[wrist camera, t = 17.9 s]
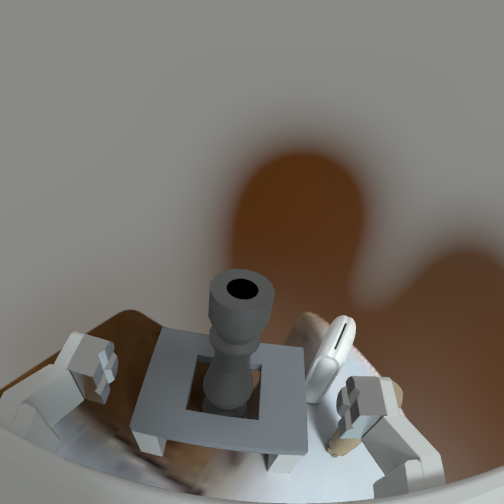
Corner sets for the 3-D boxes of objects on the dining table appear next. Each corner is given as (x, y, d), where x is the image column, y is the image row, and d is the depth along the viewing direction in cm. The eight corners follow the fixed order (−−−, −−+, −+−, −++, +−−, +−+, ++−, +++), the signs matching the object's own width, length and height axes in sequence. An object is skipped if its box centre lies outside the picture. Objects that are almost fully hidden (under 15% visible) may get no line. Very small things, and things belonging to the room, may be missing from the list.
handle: (310, 451, 38) (349, 402, 30) (338, 426, 42) (380, 370, 34) (333, 472, 35) (382, 428, 27) (360, 445, 39) (410, 394, 31)
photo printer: (316, 355, 54) (338, 304, 47) (338, 364, 52) (364, 315, 46) (294, 397, 46) (316, 349, 39) (319, 408, 44) (346, 362, 38)
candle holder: (206, 396, 44) (215, 262, 30) (247, 404, 44) (279, 274, 30) (197, 431, 39) (198, 305, 25) (241, 440, 39) (275, 320, 25)
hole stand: (141, 451, 34) (129, 425, 30) (166, 363, 48) (162, 326, 43) (289, 472, 35) (308, 451, 30) (289, 381, 48) (303, 347, 43)
